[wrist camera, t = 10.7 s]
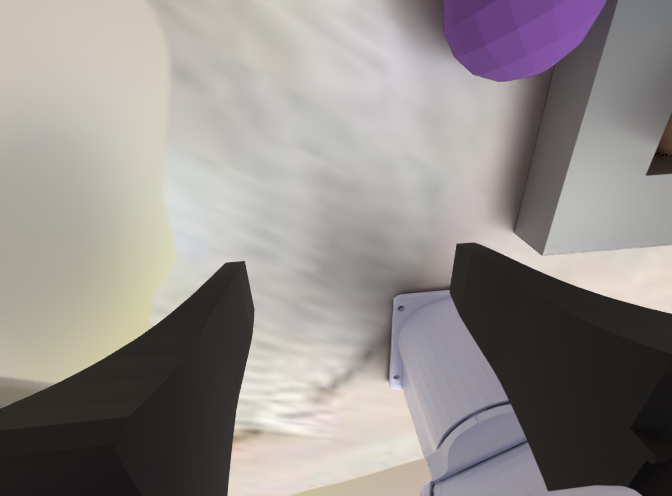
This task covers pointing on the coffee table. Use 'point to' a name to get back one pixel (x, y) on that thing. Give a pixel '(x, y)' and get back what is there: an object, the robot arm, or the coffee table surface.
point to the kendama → (515, 34)
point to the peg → (666, 139)
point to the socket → (605, 139)
